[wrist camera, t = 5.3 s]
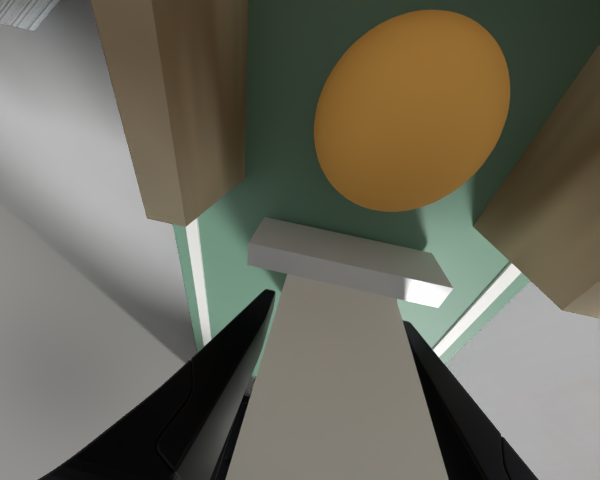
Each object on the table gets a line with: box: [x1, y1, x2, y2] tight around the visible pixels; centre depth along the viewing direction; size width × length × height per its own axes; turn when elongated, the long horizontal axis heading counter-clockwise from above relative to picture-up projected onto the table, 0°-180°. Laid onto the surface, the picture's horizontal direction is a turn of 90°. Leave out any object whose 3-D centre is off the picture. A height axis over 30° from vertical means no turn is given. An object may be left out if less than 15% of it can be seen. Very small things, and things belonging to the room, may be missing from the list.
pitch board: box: [173, 0, 600, 377], centre depth 11 cm, size 24×16×1 cm, turn 171°
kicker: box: [225, 217, 453, 480], centre depth 7 cm, size 5×7×8 cm
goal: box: [90, 0, 600, 318], centre depth 5 cm, size 8×11×4 cm
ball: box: [314, 10, 510, 212], centre depth 5 cm, size 4×4×4 cm
